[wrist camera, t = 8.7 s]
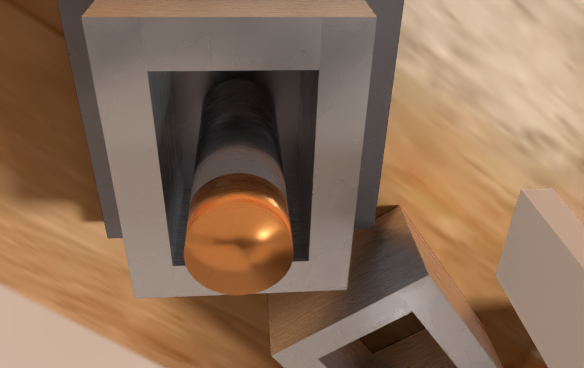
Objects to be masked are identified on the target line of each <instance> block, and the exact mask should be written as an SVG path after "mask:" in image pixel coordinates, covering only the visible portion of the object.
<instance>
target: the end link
mask: <svg viewBox="0 0 584 368" xmlns="http://www.w3.org/2000/svg"><path fill="white" fill-rule="evenodd" d="M81 18H82V24H83V29H84V34H85V39H86V45H87V50H88V55H89V60H90V66H91V71H92V76H93V82H94V87H95V92H96V97H97V103H98V108H99V113H100V118H101V124H102V129H103V134H104V139H105V145H106V150H107V155H108V161H109V166H110V171H111V176H112V182H113V187H114V192H115V197H116V203H117V208H118V213H119V218H120V224H121V229H122V234H123V239H124V245H125V250H126V255H127V261H128V266H129V271H130V276H131V282H132V287H133V292H134V297H135V299H137V298H161V297H185V296H209V295H227V294H222V293H218V292H215V291H212V290H210V289H208V288H206V287H204V286H202V285H201V284H200V283H198V282H197V281H196V280H195V279H194V278H193V277H192V276H191V274H190V273H189V271H188V269H187V267H186V265H185V261H184V246H185V238H186V231H187V223H188V215H189V207H190V199H191V191H192V189H184V185H183V175H182V165H181V156H180V146H179V137H178V127H177V117H176V108H175V98H174V88H173V79H172V71H250V70H301V79H300V108H299V136H298V165H297V186H293V187H286V195H287V203H288V210H289V218H290V226H291V234H292V241H293V250H294V256H293V261H292V265H291V267H290V269H289V271H288V272H287V274H286V275H285V276H284V277H283V278H282V279H281V280H280V281H279V282H278V283H276V284H275V285H273V286H272V287H270V288H268V289H266V290H263V291H261V292H258V293H281V292H305V291H329V290H347V284H348V275H349V265H350V256H351V247H352V238H353V229H354V220H355V211H356V202H357V193H358V184H359V175H360V166H361V157H362V148H363V139H364V130H365V121H366V112H367V103H368V94H369V85H370V76H371V67H372V57H373V48H374V39H375V30H376V21H377V16H376V15H375V14H374V12H373V11H372V9H371V8H370V7H369V5H368V4H367V2H366V1H365V0H95V1H94V2H93V3H92V4H91V6H90V7H89V8H88V9H87V10H86V12H85V13H84V14H83V15H82V17H81ZM254 294H257V293H254Z"/></svg>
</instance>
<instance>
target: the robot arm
mask: <svg viewBox="0 0 584 368" xmlns="http://www.w3.org/2000/svg"><path fill="white" fill-rule="evenodd" d="M495 276H496V278H497V280H498V282H499V283H500V285H501V287H502V288H503V290H504V292H505V294H506V295H507V297H508V299H509V301H510V302H511V304H512V306H513V308H514V309H515V311H516V313H517V315H518V316H519V318H520V320H521V322H522V323H523V325H524V327H525V328H526V330H527V332H528V334H529V335H530V337H531V339H532V341H533V342H534V344H535V346H536V348H537V349H538V351H539V353H540V355H541V356H542V358H543V360H544V362H545V363H546V365H547V367H548V368H584V224H583V223H582V222H581V221H580V220H579V218H578V217H577V216H576V215H575V214H574V213H573V212H572V211H571V209H570V208H569V207H568V206H567V205H566V204H565V203H564V201H563V200H562V199H561V198H560V197H559V196H558V195H557V193H556V192H555V191H554V190H553V189H552V188H538V189H521V190H520V194H519V197H518V201H517V204H516V207H515V211H514V214H513V218H512V221H511V224H510V228H509V231H508V234H507V238H506V241H505V245H504V248H503V251H502V255H501V258H500V262H499V265H498V268H497V272H496V275H495Z"/></svg>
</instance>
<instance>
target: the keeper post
mask: <svg viewBox="0 0 584 368" xmlns="http://www.w3.org/2000/svg"><path fill="white" fill-rule="evenodd" d="M94 1H95V0H57V4H58V9H59V14H60V18H61V23H62V28H63V32H64V37H65V41H66V46H67V51H68V55H69V60H70V65H71V69H72V74H73V79H74V83H75V88H76V93H77V97H78V102H79V107H80V111H81V116H82V121H83V125H84V130H85V135H86V139H87V144H88V149H89V153H90V158H91V163H92V167H93V172H94V177H95V181H96V186H97V191H98V195H99V200H100V205H101V209H102V214H103V219H104V223H105V228H106V233H107V237H108V238H123V234H122V229H121V224H120V218H119V213H118V208H117V203H116V197H115V192H114V187H113V182H112V176H111V171H110V166H109V161H108V155H107V150H106V145H105V139H104V134H103V129H102V124H101V118H100V113H99V108H98V103H97V97H96V92H95V87H94V82H93V76H92V71H91V66H90V60H89V55H88V50H87V45H86V39H85V34H84V29H83V24H82V18H81V17H82V15H83V14H84V13H85V12H86V10H87V9H88V8H89V7H90V6H91V4H92V3H93V2H94ZM365 1H366V2H367V4H368V5H369V7H370V8H371V9H372V11H373V12H374V14H375V15H376V16H377V21H376V30H375V39H374V48H373V57H372V67H371V76H370V85H369V94H368V103H367V112H366V121H365V130H364V139H363V148H362V157H361V166H360V175H359V184H358V193H357V202H356V211H355V220H354V229H353V230H362V229H374V223H375V215H376V208H377V200H378V193H379V185H380V178H381V170H382V163H383V155H384V148H385V140H386V133H387V125H388V117H389V110H390V102H391V95H392V87H393V80H394V72H395V65H396V57H397V50H398V42H399V35H400V27H401V20H402V12H403V5H404V0H365ZM172 79H173V88H174V98H175V108H176V117H177V127H178V137H179V146H180V156H181V165H182V175H183V185H184V189H192V191H191V199H190V207H189V215H188V223H187V231H186V238H185V246H184V261H185V265H186V267H187V269H188V271H189V273H190V274H191V276H192V277H193V278H194V279H195V280H196V281H197V282H198V283H200V284H201V285H202V286H204V287H206V288H208V289H210V290H212V291H215V292H218V293H222V294H227V295H249V294H254V293H258V292H261V291H263V290H266V289H268V288H270V287H272V286H273V285H275V284H276V283H278V282H279V281H280V280H281V279H282V278H283V277H284V276H285V275H286V274H287V272H288V271H289V269H290V267H291V265H292V261H293V256H294V250H293V241H292V234H291V226H290V218H289V210H288V203H287V195H286V187H293V186H297V165H298V136H299V108H300V79H301V70H250V71H172Z"/></svg>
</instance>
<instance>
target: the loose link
mask: <svg viewBox="0 0 584 368" xmlns="http://www.w3.org/2000/svg"><path fill="white" fill-rule="evenodd" d="M267 297H268V314H269V330H270V346H271V356H272V357H273V358H274V359H275V360H276V361H277V362H278V363H280V364H281V365H282V366H283V367H284V368H503V366H502V364H501V361H500V359H499V357H498V355H497V353H496V351H495V349H494V347H493V345H492V343H491V341H490V339H489V337H488V335H487V333H486V331H485V329H484V327H483V324H482V322H481V320H480V319H479V318H478V316H477V315H476V313H475V312H474V311H473V309H472V308H471V306H470V305H469V303H468V302H467V301H466V299H465V298H464V296H463V295H462V293H461V292H460V291H459V289H458V288H457V286H456V285H455V284H454V282H453V281H452V279H451V278H450V276H449V275H448V274H447V272H446V271H445V269H444V268H443V267H442V265H441V264H440V262H439V261H438V259H437V258H436V257H435V255H434V254H433V252H432V251H431V249H430V248H429V247H428V245H427V244H426V242H425V241H424V240H423V238H422V237H421V235H420V234H419V232H418V231H417V230H416V228H415V227H414V225H413V224H412V222H411V221H410V220H409V218H408V217H407V215H406V214H405V213H404V211H403V210H402V208H401V207H400V206H398V207H396V208H394V209H392V210H391V211H389V212H387V213H385V214H384V215H382V216H380V217H378V218H376V219H375V223H374V229H362V230H355V231H353V238H352V247H351V256H350V265H349V275H348V284H347V290H329V291H305V292H281V293H267ZM411 312H413V313H414V314H415V315H416V317H417V318H418V319H419V320H420V322H421V323H422V324H423V325H424V327H425V329H423V330H421V331H419V332H417V333H415V334H413V335H410V336H408V337H406V338H404V339H402V340H400V341H398V342H396V343H394V344H392V345H390V346H388V347H386V348H384V349H382V350H380V351H378V352H376V353H374V354H372V352H371V351H370V350H369V349H368V348H367V347H366V346H365V345H364V344H363V343H362V342H361V341H360V340H359V338H361V337H363V336H365V335H367V334H369V333H371V332H373V331H375V330H377V329H379V328H381V327H383V326H385V325H387V324H389V323H391V322H393V321H395V320H397V319H399V318H401V317H403V316H405V315H407V314H409V313H411Z"/></svg>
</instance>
